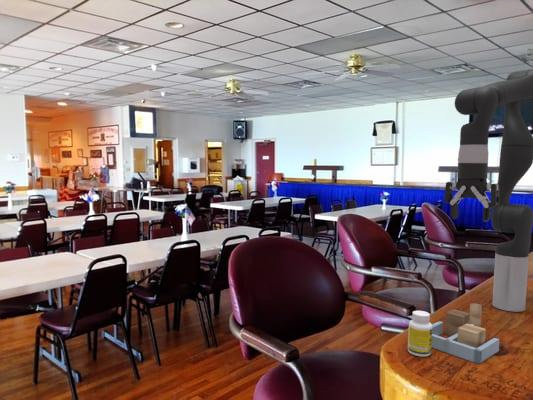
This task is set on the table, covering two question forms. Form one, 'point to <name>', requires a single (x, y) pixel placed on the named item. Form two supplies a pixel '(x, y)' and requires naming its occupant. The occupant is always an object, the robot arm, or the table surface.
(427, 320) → the supplement bottle
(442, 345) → the lane shelf
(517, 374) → the table surface
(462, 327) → the oak block
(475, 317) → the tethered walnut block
